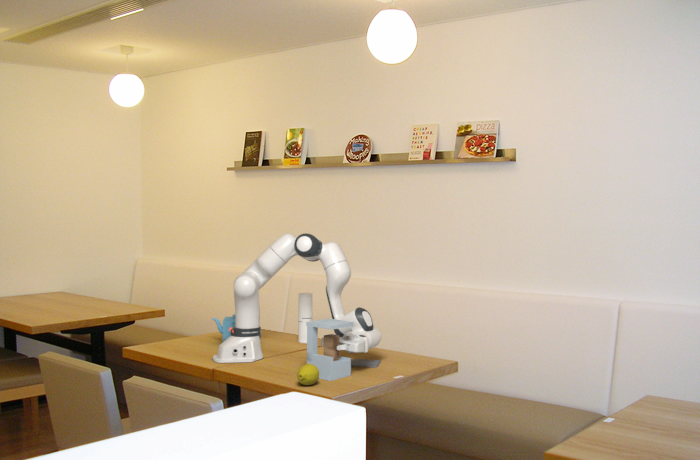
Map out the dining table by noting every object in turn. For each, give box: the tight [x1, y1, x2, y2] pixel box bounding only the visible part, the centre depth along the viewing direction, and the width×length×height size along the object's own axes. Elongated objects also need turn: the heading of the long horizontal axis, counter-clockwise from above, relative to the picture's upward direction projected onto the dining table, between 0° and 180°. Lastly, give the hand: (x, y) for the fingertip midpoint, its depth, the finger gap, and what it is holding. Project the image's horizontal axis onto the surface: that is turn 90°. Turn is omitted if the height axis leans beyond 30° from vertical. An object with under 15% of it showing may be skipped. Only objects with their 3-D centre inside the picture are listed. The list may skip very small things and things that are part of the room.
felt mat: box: [351, 358, 382, 368], centre depth 274 cm, size 12×12×1 cm
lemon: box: [296, 363, 320, 386], centre depth 237 cm, size 11×8×8 cm
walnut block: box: [323, 333, 340, 361], centre depth 253 cm, size 4×4×10 cm
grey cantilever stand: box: [306, 318, 354, 382], centre depth 253 cm, size 13×14×22 cm
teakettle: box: [210, 314, 235, 342], centre depth 319 cm, size 19×19×15 cm
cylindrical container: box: [297, 292, 313, 344], centre depth 324 cm, size 7×7×25 cm
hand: (329, 346), depth 253 cm, fingers open, 6 cm apart
